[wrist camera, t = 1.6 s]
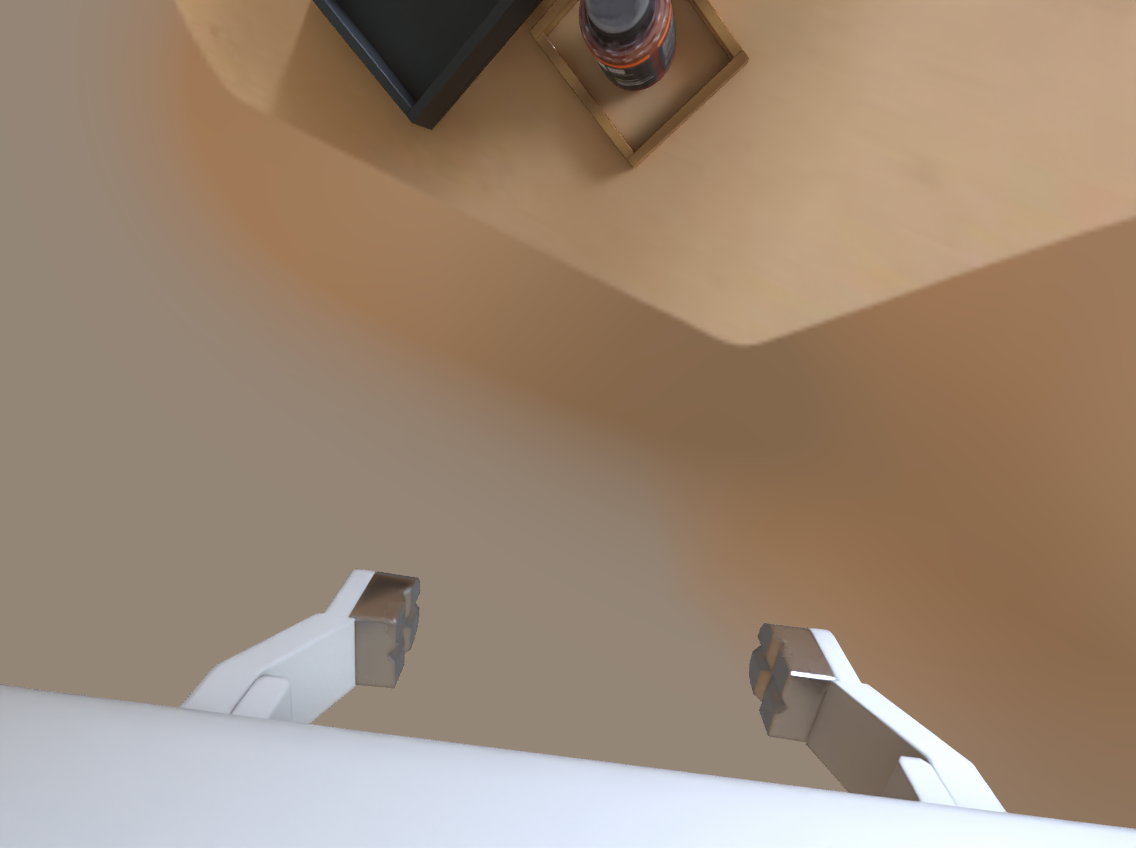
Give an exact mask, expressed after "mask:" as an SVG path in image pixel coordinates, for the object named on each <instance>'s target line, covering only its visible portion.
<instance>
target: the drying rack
mask: <svg viewBox="0 0 1136 848" xmlns="http://www.w3.org/2000/svg"><path fill="white" fill-rule="evenodd" d="M577 1H578V0H556V1H555V3H554V4H553V5H552V6H551V7H550V8H549V10H548V11H547V12H546V13H545V14H544V15H543V17H542V18H541V19H540V20H539V21H538V22H537V23H536V25H535V26H534V27H533V28H532V29H531V30H530V34H531V35H532V36H533V38H534V39H535V40H536V42H537V43H538V44H539V46H540V47H541V48H542V50H543V51H544V52H545V53H546V55H547V56H548V57H549V59H550V60H551V61H552V63H553V64H554V65H555V67H556V68H557V69H558V71H559V72H560V73H561V75H562V76H563V77H564V78H565V80H566V81H567V82H568V84H569V85H570V86H571V88H572V89H573V90H574V92H575V93H576V94H577V96H578V97H579V98H580V100H581V101H582V102H583V103H584V105H585V106H586V107H587V109H588V110H589V111H590V113H591V114H592V115H593V117H594V118H595V119H596V121H597V122H598V123H599V124H600V126H601V127H602V128H603V130H604V131H605V132H606V134H607V135H608V136H609V138H610V139H611V140H612V142H613V143H614V144H615V146H616V147H617V148H618V149H619V151H620V152H621V153H622V155H623V156H624V157H625V159H626V160H627V161H628V163H629V164H630V165H631V167H632V168H636V167H637V166H638V165H639V164H640V163H641V162H642V161H643V160H644V159H645V158H646V157H647V156H648V155H649V154H650V153H652V152H653V151H654V150H655V149H656V148H657V147H658V146H659V145H660V144H661V143H662V142H663V141H664V140H665V139H667V138H668V137H669V136H670V135H671V134H672V133H673V132H674V131H675V130H676V129H677V128H678V127H679V126H680V125H682V124H683V123H684V122H685V121H686V120H687V119H688V118H689V117H690V116H691V115H692V114H693V113H694V112H695V111H697V110H698V109H699V108H700V107H701V106H702V105H703V104H704V103H705V102H706V101H707V100H708V99H709V98H710V97H712V96H713V95H714V94H715V93H716V92H717V91H718V90H719V89H720V88H721V87H722V86H723V85H724V84H725V83H726V82H728V81H729V80H730V79H731V78H732V77H733V76H734V75H735V74H736V73H737V72H738V71H739V70H740V69H741V68H743V67H744V66H745V65H746V64H747V63H748V60H749V57H748V56H747V55H746V53H745V52H744V50H742V47H741V46H740V45H739V43H738V42H737V40H736V39H735V38H734V36H733V35H732V33H731V32H730V30H729V29H728V28H727V26H726V25H725V23H724V22H723V20H722V19H721V18H720V16H719V15H718V13H717V12H716V11H715V9H714V8H713V6H712V5H711V3H710V2H709V1H708V0H689V1H690V3H691V4H692V5H693V7H694V8H695V10H696V11H697V12H698V14H699V15H700V17H701V18H702V19H703V21H704V22H705V24H706V25H707V26H708V28H709V29H710V31H711V32H712V34H713V35H714V36H715V38H716V39H717V41H718V42H719V43H720V45H721V46H722V48H723V49H724V50H725V52H726V53H727V55H728V56H729V57H730V59H731V61H730V62H729V63H728V64H727V65H726V66H725V67H724V68H723V69H722V70H721V71H719V72H718V73H717V74H716V75H715V76H714V77H713V78H712V79H711V80H710V81H709V82H708V83H707V84H706V85H705V86H704V87H703V88H702V89H700V90H699V91H698V92H697V93H696V94H695V95H694V96H693V97H692V98H691V99H690V100H689V101H688V102H687V103H686V104H685V105H684V106H683V107H682V108H680V109H679V110H678V111H677V112H676V113H675V114H674V115H673V116H672V117H671V118H670V119H669V120H668V121H667V122H666V123H665V124H664V125H663V126H661V127H660V128H659V129H658V130H657V131H656V132H655V133H654V134H653V135H652V136H651V137H650V138H649V139H648V140H647V141H646V142H645V143H644V144H643V145H641V146H640V147H639V148H638V149H637V150H636V151H635V152H634V151H633V150H632V149H631V147H630V146H629V145H628V144H627V142H626V141H625V140H624V138H623V137H622V136H621V134H620V133H619V132H618V130H617V129H616V128H615V126H614V125H613V124H612V122H611V121H610V120H609V118H608V117H607V116H606V114H605V113H604V112H603V110H602V109H601V108H600V107H599V105H598V104H597V103H596V101H595V100H594V99H593V97H592V96H591V95H590V93H589V92H588V91H587V89H586V88H585V87H584V85H583V84H582V83H581V81H580V80H579V79H578V77H577V76H576V75H575V73H574V72H573V71H572V70H571V68H570V67H569V66H568V64H567V63H566V62H565V60H564V59H563V58H562V56H561V55H560V54H559V52H558V51H557V50H556V48H555V47H554V46H553V44H552V43H551V42H550V40H549V39H548V38H547V37H546V36H547V35H548V34H549V33H550V32H551V31H552V29H553V28H554V27H555V26H556V25H557V24H558V23H559V21H560V20H561V19H562V18H563V17H564V16H565V15H566V14H567V12H568V11H569V10H570V9H571V8H572V7H573V6H574V4H575V3H576V2H577Z"/></svg>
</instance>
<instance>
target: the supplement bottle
mask: <svg viewBox="0 0 1136 848" xmlns="http://www.w3.org/2000/svg"><path fill="white" fill-rule="evenodd" d="M579 23H580V28H581V32H582V35H583V38H584V40H585V42H586V44H587V46H588V48H589V49H590V51H591V53H592V54H593V56H594V57H595V59H596V60H597V62H598V63H599V65H600V67H601V68H602V70H603V71H604V73H605V74H606V76H607V77H608V78H609V79H610V80H611V81H612V82H613V83H614V84H615V85H617V86H619V87H620V88H623V89H626V90H631V91H635V90H642V89H646V88H648V87H650V86H652V85H653V84H655V83H656V82H657V81H659V80H660V79H661V78H662V77H663V75H664V74H665V73H666V72H667V70H668V68H669V67H670V64H671V62H672V59H673V56H674V52H675V45H676V34H675V26H674V20H673V13H672V7H671V0H580V7H579Z"/></svg>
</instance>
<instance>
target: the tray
mask: <svg viewBox="0 0 1136 848" xmlns="http://www.w3.org/2000/svg"><path fill="white" fill-rule="evenodd" d="M313 1H314V3H315V4H316V5H317V6H318V8H319V9H320V10H321V11H322V13H323V14H324V15H325V16H326V17H327V19H328V20H329V21H330V22H331V24H332V25H333V26H334V27H335V28H336V30H337V31H338V32H339V33H340V35H341V36H342V37H343V38H344V40H345V41H346V42H347V43H348V44H349V46H350V47H351V48H352V49H353V51H354V52H355V53H356V54H357V56H358V57H359V58H360V59H361V60H362V62H363V63H364V64H365V65H366V67H367V68H368V69H369V70H370V72H371V73H372V74H373V75H374V76H375V78H376V79H377V80H378V81H379V83H380V84H381V85H382V86H383V88H384V89H385V90H386V91H387V92H388V94H389V95H390V96H391V97H392V99H393V100H394V101H395V102H396V104H397V105H398V106H399V107H400V108H401V110H402V111H403V112H404V113H405V115H406V116H407V117H408V118H409V120H410V121H411V122H412V123H413V124H416V125H419V126H422V127H425V128H427V129H430V130H432V129H433V128H434V127H435V126H436V124H437V123H438V122H439V121H440V120H441V118H442V117H443V116H444V115H445V114H446V113H447V111H448V110H449V109H450V108H451V107H452V106H453V104H454V103H455V102H456V101H457V100H458V99H459V97H460V96H461V95H462V94H463V93H464V91H465V90H466V89H467V88H468V87H469V86H470V84H471V83H472V82H473V81H474V80H475V79H476V77H477V76H478V75H479V74H480V73H481V71H482V70H483V69H484V68H485V67H486V66H487V64H488V63H489V62H490V61H491V60H492V59H493V57H494V56H495V55H496V54H497V53H498V51H499V50H500V49H501V48H502V47H503V46H504V44H505V43H506V42H507V41H508V40H509V39H510V37H511V36H512V35H513V34H514V33H515V31H516V30H517V29H518V28H519V27H520V26H521V24H522V23H523V22H524V21H525V20H526V19H527V17H528V16H529V15H530V14H531V13H532V11H533V10H534V9H535V8H536V7H537V6H538V4H539V3H540V2H541V1H542V0H313Z"/></svg>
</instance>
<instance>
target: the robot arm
mask: <svg viewBox="0 0 1136 848" xmlns="http://www.w3.org/2000/svg"><path fill="white" fill-rule="evenodd" d="M419 594H420V580H419V578H415V577H409V576H403V575H396V574H390V573H383V572H375V571H368V570H361V569H355V570H354V571H352V572H351V573H350V575H349V576H348V578H347V579H346V581H345V582H344V584H343V585H342V587H341V588H340V590H339V591H338V593H337V594H336V596H335V597H334V599H333V600H332V602H331V603H330V605H329V606H328V608H327V609H326V611H325V612H324V614H319V613H317V614H315V615H313V616H311V617H309V618H307V619H305V620H303V621H301V622H299V623H297V624H295V625H293V626H291V627H289V628H287V629H285V630H284V631H282V632H279V633H278V634H276V635H274V636H272V637H270V638H268V639H266V640H264V641H262V642H260V643H258V644H256V645H254V646H252V647H250V648H248V649H246V650H244V651H242V652H241V653H239V654H237V655H235V656H233V657H231V658H229V659H227V660H225V661H223V662H221V663H219V664H217V665H215V666H214V667H213V668H212V669H211V670H210V672H209V673H208V674H207V675H206V676H205V677H204V679H203V680H202V681H201V682H200V684H198V686H197V687H196V688H195V689H194V691H193V692H192V693H191V694H190V695H189V696H188V698H187V699H186V700H185V701H184V702H183V704H182V705H181V706H180V707H179V708H178V707H170V706H163V705H155V704H146V703H139V702H131V701H123V700H115V699H107V698H100V697H92V696H84V695H77V694H68V693H61V692H52V691H45V690H38V689H31V688H24V687H16V686H10V685H3V684H0V848H1136V829H1132V828H1124V827H1116V826H1108V825H1100V824H1092V823H1083V822H1075V821H1068V820H1060V819H1052V818H1044V817H1036V816H1029V815H1021V814H1013V813H1007V812H1006V811H1005V810H1004V808H1003V807H1002V805H1001V804H1000V803H999V801H998V799H997V798H996V797H995V795H994V794H993V792H992V791H991V789H990V788H989V787H988V785H987V784H986V782H985V781H984V779H983V778H982V776H981V775H980V774H979V772H978V771H977V769H976V768H975V766H974V765H973V764H972V763H971V762H969V761H968V760H967V759H966V758H964V757H963V756H961V755H960V754H959V753H957V752H956V751H955V750H954V749H952V748H951V747H950V746H949V745H947V744H946V743H945V742H943V741H942V740H940V739H939V738H938V737H937V736H935V735H934V734H932V733H931V732H930V731H929V730H927V729H926V728H925V727H923V726H922V725H921V724H919V723H918V722H917V721H916V720H914V719H913V718H911V717H910V716H909V715H908V714H906V713H905V712H903V711H902V710H901V709H900V708H898V707H897V706H896V705H894V704H893V703H892V702H890V701H889V700H888V699H886V698H885V697H884V696H882V695H881V694H880V693H879V692H877V691H876V690H874V689H873V688H872V687H871V686H869V685H867V684H861V682H860V680H859V678H858V677H857V675H856V673H855V672H854V670H853V668H852V667H851V665H850V663H849V661H848V660H847V658H846V656H845V654H844V653H843V651H842V650H841V648H840V646H839V644H838V643H837V641H836V639H835V637H834V636H833V634H832V633H831V632H830V631H828V630H823V629H813V628H798V627H791V626H783V625H775V624H767V623H764V624H763V625H762V627H761V628H760V631H759V634H758V639H759V641H760V644H761V646H759V647H758V648H757V649H755V650H754V651H753V653H752V656H751V660H750V667H749V678H750V684H751V687H752V690H753V694H754V695H755V696H756V697H758V699H759V700H760V701H762V704H761V707H760V710H759V711H760V714H761V717H762V720H763V723H764V725H765V728H766V731H767V734H768V736H770V737H776V738H783V739H789V740H795V741H801V742H807V743H806V745H807V746H808V747H809V748H810V749H811V750H812V751H813V753H814V754H815V755H816V756H817V757H818V758H819V759H820V761H821V762H822V763H823V764H824V765H825V766H826V767H827V768H828V770H829V771H830V772H831V773H832V774H833V775H834V776H835V778H836V779H837V780H838V781H839V782H840V783H841V784H842V785H843V786H844V788H845V789H846V790H847V791H848V792H849V793H848V792H839V791H832V790H823V789H815V788H807V787H799V786H791V785H783V784H775V783H768V782H760V781H751V780H744V779H736V778H729V777H721V776H713V775H705V774H697V773H690V772H682V771H674V770H666V769H659V768H650V767H642V766H634V765H627V764H618V763H611V762H602V761H595V760H587V759H579V758H571V757H563V756H555V755H547V754H539V753H531V752H523V751H515V750H508V749H500V748H491V747H484V746H476V745H468V744H460V743H452V742H444V741H437V740H429V739H421V738H413V737H405V736H398V735H390V734H382V733H374V732H366V731H358V730H351V729H343V728H334V727H327V726H319V725H311V724H310V723H311V722H313V721H314V720H315V719H316V718H318V717H319V716H320V715H321V714H323V712H325V711H326V710H327V709H329V708H330V707H331V706H332V705H333V704H335V703H336V702H337V701H339V700H340V699H341V698H342V697H343V696H345V695H346V694H347V693H348V692H350V691H351V690H352V689H353V688H354V687H355V685H365V686H375V687H386V688H395V685H396V683H397V681H398V678H399V676H400V673H401V671H402V669H403V666H404V655H405V653H406V652H408V651H409V650H410V649H411V647H412V644H413V642H414V639H415V635H416V631H417V627H418V620H419V607H418V606H417V604H416V601H417V598H418V596H419Z"/></svg>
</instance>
